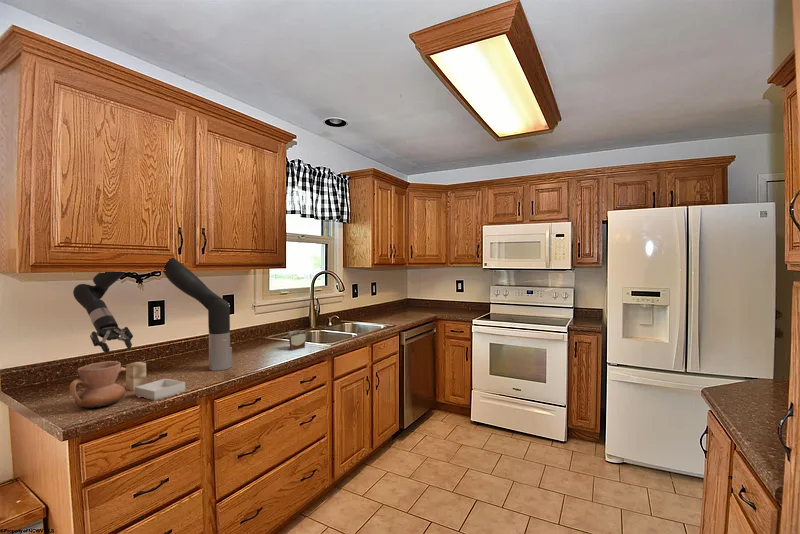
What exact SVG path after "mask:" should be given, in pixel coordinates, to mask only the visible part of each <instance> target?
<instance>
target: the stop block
mask: <svg viewBox="0 0 800 534" xmlns="http://www.w3.org/2000/svg"><path fill="white" fill-rule="evenodd" d="M125 369H126V370H125V389H126V388H127V389H126V390H128V389H131V390H130V391H132V390H135V387H136V386H140V385H144V384H147V362H143V361H135V362H131V363H127V364H125Z"/></svg>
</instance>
